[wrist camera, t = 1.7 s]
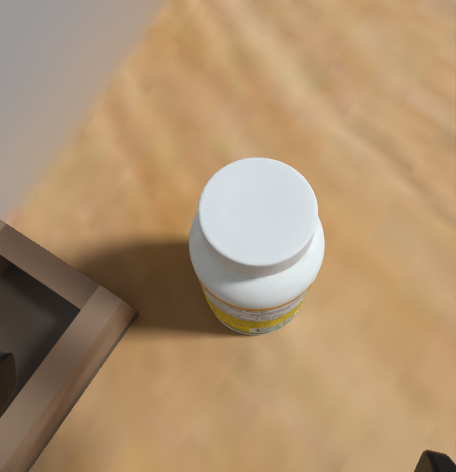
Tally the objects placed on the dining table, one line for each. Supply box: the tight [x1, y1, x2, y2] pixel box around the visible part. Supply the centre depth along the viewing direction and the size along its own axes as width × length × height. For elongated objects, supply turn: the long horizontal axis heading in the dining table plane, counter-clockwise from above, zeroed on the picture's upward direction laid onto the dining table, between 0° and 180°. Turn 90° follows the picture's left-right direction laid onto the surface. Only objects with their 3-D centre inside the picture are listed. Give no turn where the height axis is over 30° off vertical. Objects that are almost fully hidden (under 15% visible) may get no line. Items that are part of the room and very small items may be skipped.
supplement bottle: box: [189, 158, 325, 335], centre depth 18 cm, size 5×5×10 cm
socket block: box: [0, 220, 139, 472], centre depth 21 cm, size 9×9×3 cm
